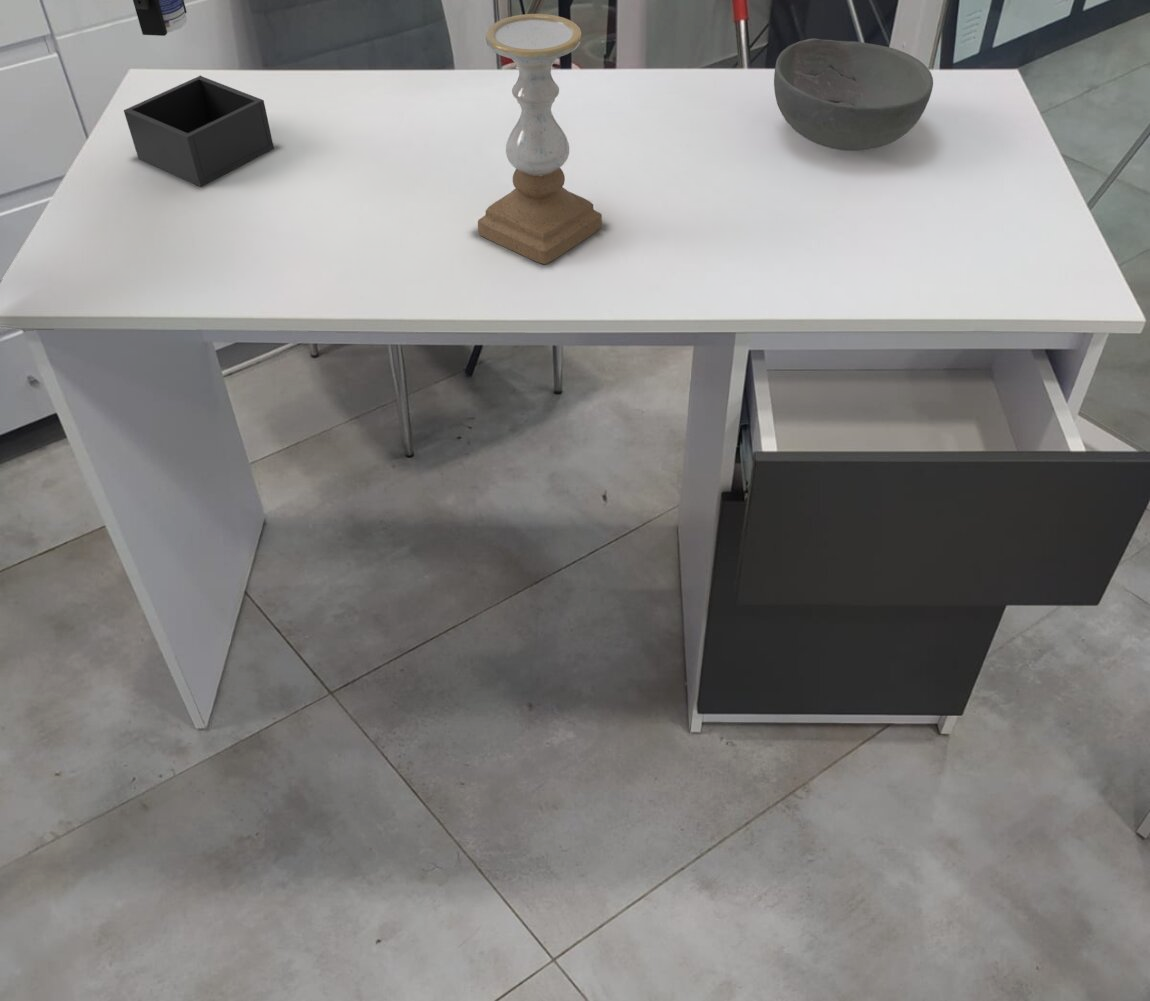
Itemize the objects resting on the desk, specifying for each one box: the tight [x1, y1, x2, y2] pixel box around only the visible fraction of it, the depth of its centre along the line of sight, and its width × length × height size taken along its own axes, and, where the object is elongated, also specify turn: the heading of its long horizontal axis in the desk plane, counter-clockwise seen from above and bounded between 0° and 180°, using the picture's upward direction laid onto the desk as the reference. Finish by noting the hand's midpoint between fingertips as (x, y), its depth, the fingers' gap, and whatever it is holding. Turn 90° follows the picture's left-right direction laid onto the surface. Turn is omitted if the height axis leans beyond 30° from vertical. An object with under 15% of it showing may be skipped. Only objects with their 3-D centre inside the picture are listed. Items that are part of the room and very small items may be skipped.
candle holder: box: [477, 13, 603, 265], centre depth 126 cm, size 11×11×24 cm
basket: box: [123, 75, 275, 188], centre depth 146 cm, size 13×13×7 cm
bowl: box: [773, 38, 934, 152], centre depth 147 cm, size 20×20×10 cm
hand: (164, 23), depth 132 cm, fingers closed on pill bottle, 5 cm apart
